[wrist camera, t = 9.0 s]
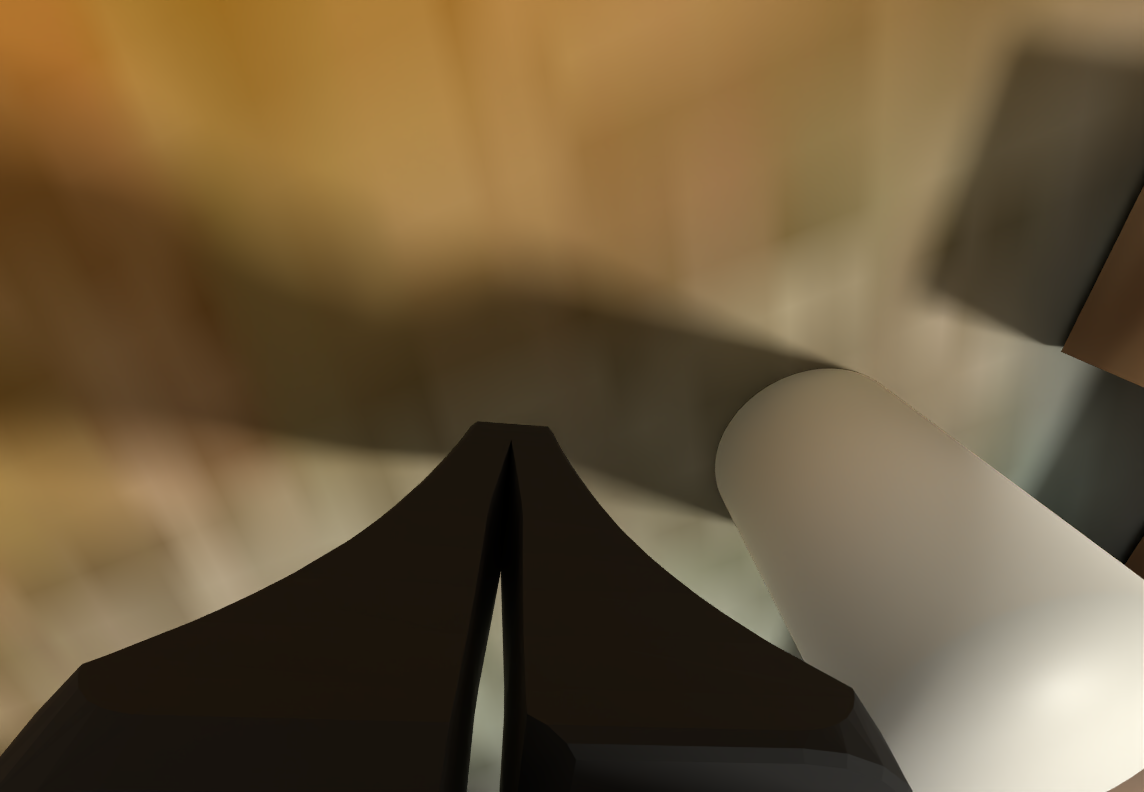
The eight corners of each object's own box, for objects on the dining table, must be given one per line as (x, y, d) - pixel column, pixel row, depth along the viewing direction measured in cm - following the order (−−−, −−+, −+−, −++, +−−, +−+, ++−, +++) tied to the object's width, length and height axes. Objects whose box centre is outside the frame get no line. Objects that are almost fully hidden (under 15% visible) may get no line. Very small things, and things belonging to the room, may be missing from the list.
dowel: (874, 535, 13) (1115, 824, 8) (701, 533, 13) (825, 833, 7) (931, 371, 11) (1288, 592, 6) (733, 364, 11) (922, 591, 6)
